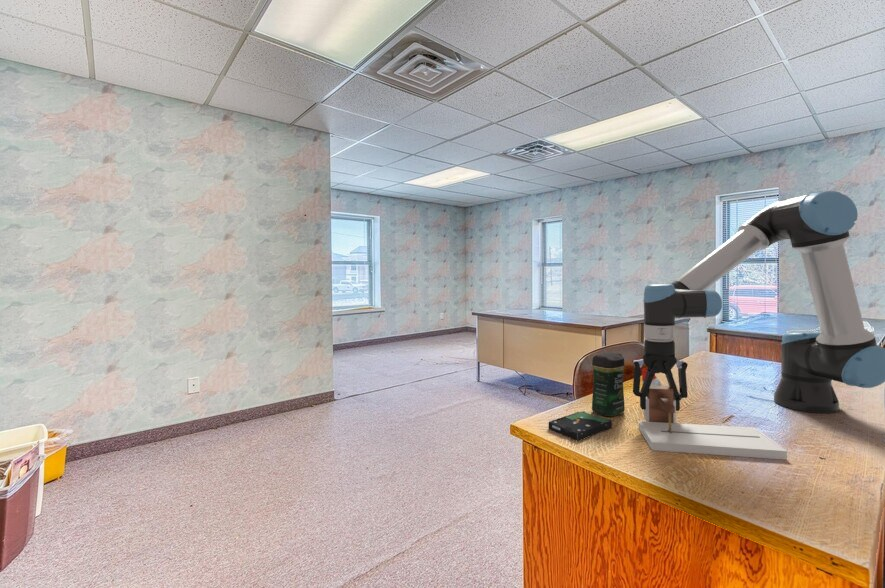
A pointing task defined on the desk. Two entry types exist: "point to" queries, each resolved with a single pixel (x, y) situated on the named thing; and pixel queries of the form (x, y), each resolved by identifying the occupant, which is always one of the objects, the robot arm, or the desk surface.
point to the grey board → (710, 440)
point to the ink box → (654, 381)
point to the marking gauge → (661, 404)
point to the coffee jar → (608, 384)
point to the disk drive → (580, 425)
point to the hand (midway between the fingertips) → (659, 420)
